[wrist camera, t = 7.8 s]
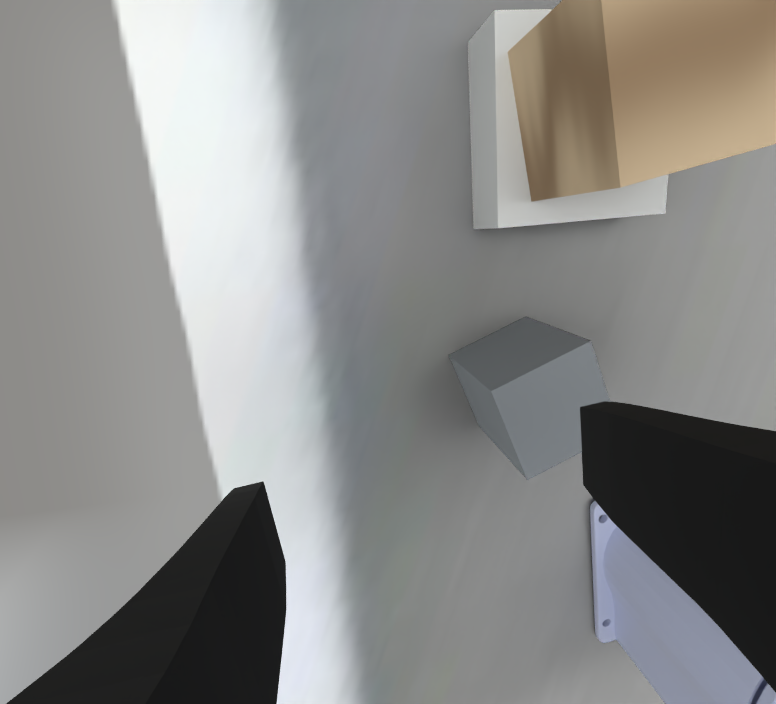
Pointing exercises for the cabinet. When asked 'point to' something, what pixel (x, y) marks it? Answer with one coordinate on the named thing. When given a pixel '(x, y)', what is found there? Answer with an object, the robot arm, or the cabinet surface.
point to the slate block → (531, 391)
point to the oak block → (642, 90)
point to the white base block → (505, 151)
